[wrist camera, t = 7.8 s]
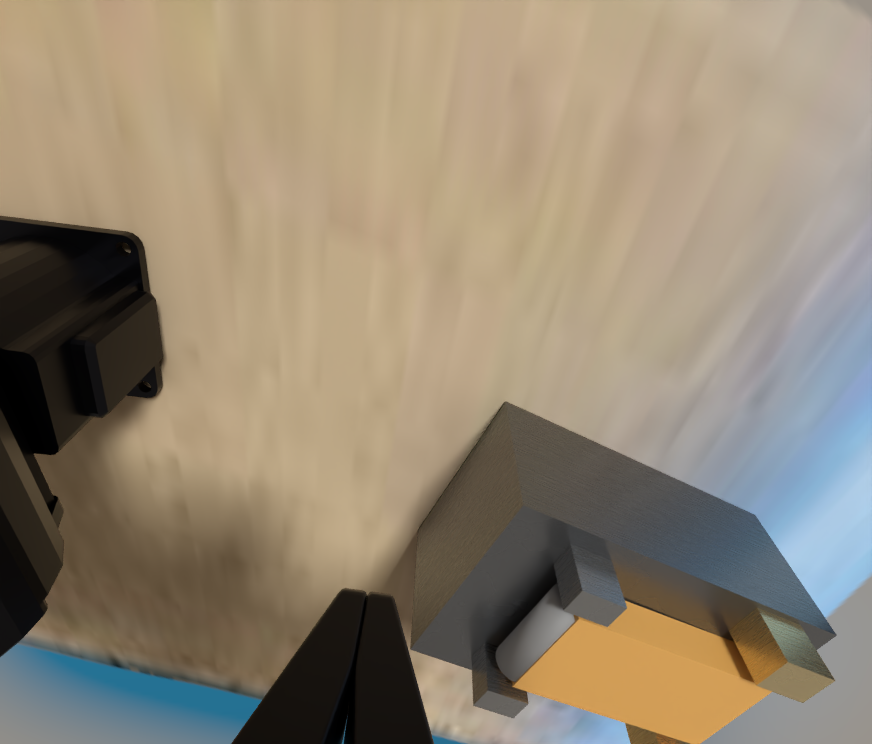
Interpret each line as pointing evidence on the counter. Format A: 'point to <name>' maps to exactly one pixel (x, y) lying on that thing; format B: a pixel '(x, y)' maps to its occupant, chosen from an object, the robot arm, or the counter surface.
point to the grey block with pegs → (600, 561)
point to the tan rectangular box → (631, 669)
